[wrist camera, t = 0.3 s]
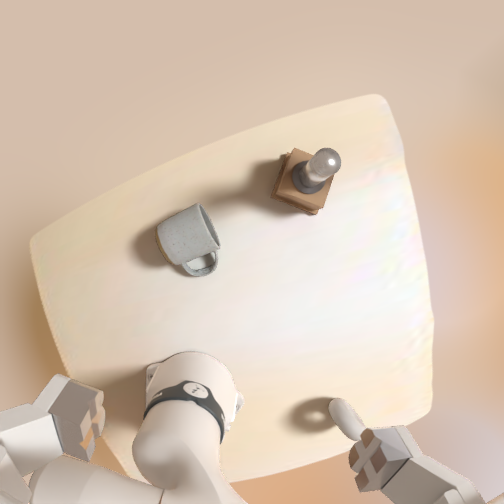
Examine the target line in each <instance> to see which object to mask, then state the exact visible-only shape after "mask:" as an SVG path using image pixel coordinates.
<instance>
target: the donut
mask: <svg viewBox="0 0 504 504" xmlns="http://www.w3.org/2000/svg"><path fill="white" fill-rule="evenodd" d="M328 409H329V413H330V415H331V417H332V419H333V420H334V422H335V423H336V425H337V426H338V427H339V429H340V430H341V431H342V432H343V433H344V434H345V435H346V436H347V437H348V438H349V439H351V440H354V441H358V440H361V438H360V435H361V433H362V432H363V431H364V430H365V429H366V427H365V425H364V423H363V421H362V420H361V418H360V417H359V415H358V414H357V413H356V412H355V410H354V409H353V408H352V407H351V406H350V405H349V404H348V403H347V402H346V401H345V400H344V399H342V398H335V399H333V400H332V401H331V402H330V404H329V408H328Z"/></svg>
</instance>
